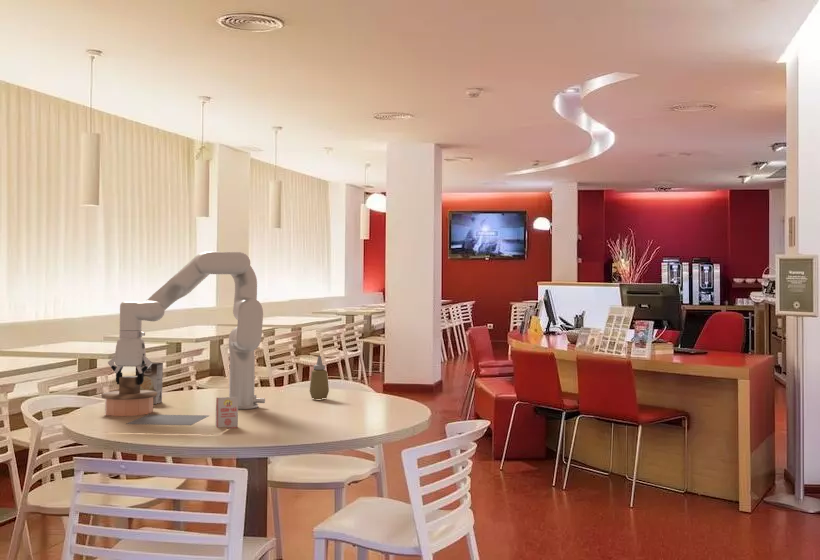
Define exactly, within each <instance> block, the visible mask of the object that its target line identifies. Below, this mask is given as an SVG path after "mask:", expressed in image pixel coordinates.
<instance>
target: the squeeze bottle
mask: <svg viewBox="0 0 820 560" xmlns="http://www.w3.org/2000/svg"><path fill="white" fill-rule="evenodd" d="M310 373H311V376H310V384H309V393H310V396H311V399H312V398H314V399H322V398H326V399H327V398H328V395H329V391H330V389H329V377H328V376H329V375H328V371H327V370H326V365H325V364H323V360H322V356H317V360H316V364H314V365H313V370H312V371H311V372H310Z"/></svg>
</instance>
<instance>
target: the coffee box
mask: <svg viewBox="0 0 820 560" xmlns="http://www.w3.org/2000/svg"><path fill="white" fill-rule="evenodd" d="M151 362H152V361H151ZM145 365H146V364H145ZM145 365H143V367H144V366H145ZM163 369H164V364H163V362H155V361H154V362H152V365H151V366H150V367H149V368H148V369H147V370H146V371H145V373H144V381H143V383H142V384H140V390H150V391H156V392H157V396H155V397H153V405H157V403H158V404H160V403H162V402H163V378H164V377H163V376H164V375H163V373H164V372H163V371H164V370H163ZM137 374H139V372H138V369H137V367H135V376H137Z"/></svg>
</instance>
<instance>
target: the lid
mask: <svg viewBox="0 0 820 560" xmlns="http://www.w3.org/2000/svg"><path fill="white" fill-rule="evenodd" d="M155 396H157V392H156V391H150V390H140V385H138V384H137V376H136V375H122V377H119V384H118V390H113V391H107V392H106V391H105V392H103V393H101V398H102V399H104V400H105V399H115V400H129V399H144V398H151V397H155Z"/></svg>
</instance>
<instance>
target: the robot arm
mask: <svg viewBox="0 0 820 560" xmlns="http://www.w3.org/2000/svg"><path fill="white" fill-rule="evenodd" d="M209 275H231V277H232V278H233V281H234V299H233V306H232V307H233V309H232V314H233V316H234V318H235V319H236V320H237V326H235V327H234V328H232V330H231V331H230V333H229V335H228V349H229V381H228V382H229V384H228V386H229V387H228V388H229V390H228V391H229V392H228V394H229V395H228V397H238V410H251V409H257V408H258V407H259V404H265V403H266V398H264V397H257V394H255V375H256V374H255V371H256V369H255V368H256V367H255V364H256V361H255V360H256V355H255V350H256V349H258V347H259V346H260V344H261V342H262V334H263V322H264V320H263V319H264V310H263V306H262V303H261V302H260V301H259V300H258V281H257V280H258V279H257V275H256V272H255V270H254V269H253V267H252V265H251V260H250V257H249V256H248V255H247V254H246V253H244V252H241V251H204V252H199V253H198V254H197V255H195V256H194V257H193V258H192V259H191V260H190V261H189V262H187V263H186V265H184V266H183V267H182V268H181V269H180V270H179V271H178V272H177V273H175V274H174V275H173V276H172V277H171V278H170V279H169V280H168V281H166V282H165V284H163V285H162V286H161V287H160V288H158V289H157V290H156V291H155V292H154V293H153V294H152V295H151V296H150V297H149V298H148V299H146V300H145V301H143V302H141V301H129V300H127V301H122V302H121V303H120V304H119V335H118V337H119V338H117V340H116V346H115V352H114V356H113V357H112V358H111V359H110V360H109V361H107V365H108V366H109V367H110V368H111V369H112V370H113V372H114V373H115V382H116V385H119V377H123V372H122V370H123V368H124V367H130V368H131V367H132V368H133V367H135V368H136V367H137V369H138V372H139V374H137V384H138V385H140V384H142V383H143V381H144V373H145V371H146V370H147V369H148V368H149V367H150V366H151V365H152V361H151V360H150V359H149V358H148V357H147V354H146V353H147V352H146V343H145V339H144V338H143V337H144V336H146V332H145V331H143V330H142V326H143V325H142V321H144V322H145V321H146V322H159V321H161V320H162V318H164V316H165V311H166V310H167V309H168V308H170V306H171V305H173V304H174V303H175V302H176V301H178V300H180V299H181V298H184V297H185V296H187V295H188V294H190V293H191V292H192V291H193V290H194V289H195V288H197V286H198V285H200V284H201V283H202V282H203V281H205V279H206V278H207V277H209ZM145 364H146V365H145ZM143 365H145V366H144V367H143Z"/></svg>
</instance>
